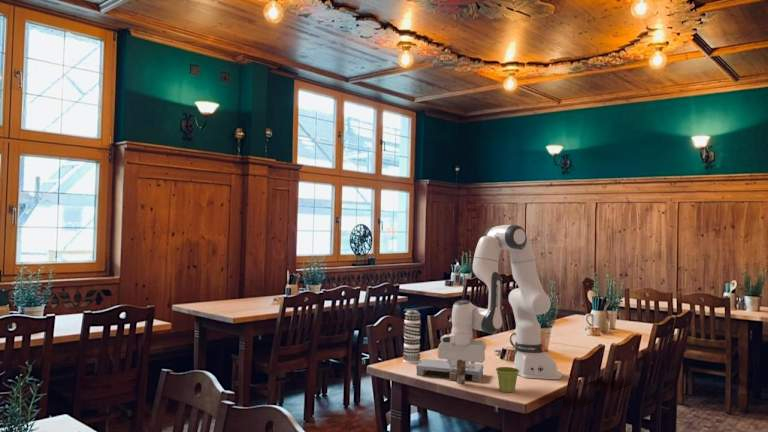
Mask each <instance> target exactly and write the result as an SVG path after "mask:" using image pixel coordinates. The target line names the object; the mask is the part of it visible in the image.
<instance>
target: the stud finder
mask: <svg viewBox="0 0 768 432" xmlns="http://www.w3.org/2000/svg"><path fill="white" fill-rule="evenodd" d="M469 363H470V362H469V361H465V367H468V366H469ZM451 364H452V365H454V366H456V367H457V360H451Z"/></svg>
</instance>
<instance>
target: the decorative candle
mask: <svg viewBox="0 0 768 432" xmlns="http://www.w3.org/2000/svg"><path fill="white" fill-rule="evenodd" d="M420 329H422V323H421V313H420V312H419V310H415V309H413V310H412V309H408V310H406V311H405V313H404V322H403V330H402V331H403V338H404V342H403V351H402V352H403V354H402V355H403V356H402V358H403V360H402V362H403V363H406V364H418V363H420V362H421V361H420V360H421V347H420V346H421V344H420V343H421V342H420V339H421V338H422V337H421V336H422V334H421V333H422V331H421V330H420Z"/></svg>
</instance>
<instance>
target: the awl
mask: <svg viewBox="0 0 768 432" xmlns="http://www.w3.org/2000/svg"><path fill="white" fill-rule="evenodd" d="M465 377H466V374H465V361H462V360H461V358H460V360H457V380H456V384H458V385H464V384H465V381H466V380H465Z"/></svg>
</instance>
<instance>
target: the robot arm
mask: <svg viewBox="0 0 768 432" xmlns="http://www.w3.org/2000/svg"><path fill="white" fill-rule="evenodd" d="M502 250H508V252H509V260H510V267H511V273H512V278H513V280H514V281H515V283H516V285H517V286H518V287H516V288H513V289H512V290H511V291H510V292H509V294H508V302H509V304H510V306H511V308H512V312H513V316H514V321H515V342H514V362H513V366H512V368H516V369H518V370H519V372H518V375H517V376H520V377H522V378H525V379H542V380H561V379H562V378H563V372H561V371H560V370H558V365H557V362H556V360H555V359H553V357H551V356H550V355H549V354H547V353H546V352H545V351H546V345H545V344H543V343H541V332H542V331H541V330H542V328H541V324H540V322H539V321H538V318H537V316H538V315H544V314H547V313H548V312H549V311H550V309H551V305H552V302H551V299H550V297H549V295H547V293H546V292H545V290H544V288H543V286H542V283H541V281H540V278H539V275H538V270H537V264H536V258H535V254H534V253H535V252H534V249H533V245H532V243H531V240H530V239H529V238H528V235H527V232H526V231H525V229H524V228H523V227H522V226H520V225H518V224H502V225H493V226H491V227H488V228H487V229H486V230H485V232H484V235H483V236H481V237H480V238H479V240H478V242H477V245H476V247H475V251H474V254H473V255H474V256H473V260H472V273H473V274H474V275H475V277H476V278H477V279H479V280H480V281H482V282H484V284H485V285H486V286H487V289H488V306H487V308H484V307H483V308H482V307H479V306H477V305H474V304H473V303H472V302H471V301H470V300H469V299H468V300H467V299H462V300H457V301H455V302H454V304H453V306H452V311H451V324H452V327H451V333H447V334H444V335H442V336H441V337H440V343H439V344H438V348H437V357H438V359H440V360H446V361H447V362H448V364H449V366H450V370H454V365H452V364H451V360H460V358H461V360H462V361H469V363H471V364H472V365H471V367H468V372H472V367H473V365H474V364H476V363H478V364H481V363H484V362H485V361H486V355H485V354H486V353H485V350H486V349H487V348H486V346H487V344H486V342H485V341H483V340H481V339H479V340H478V339H473V329H474V330H477V331H481V332H483V333H487V334H490V335H493V334H496V333H497V332H499V331H500V330H501V328H502V327H503V323H504V322H503V321H504V320H503V313H502V312H503V311H502V308H503V306H502V305H503V278H502V276H501V274H500V273H499V262H500V261H499V260H500V253H501V252H502Z"/></svg>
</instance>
